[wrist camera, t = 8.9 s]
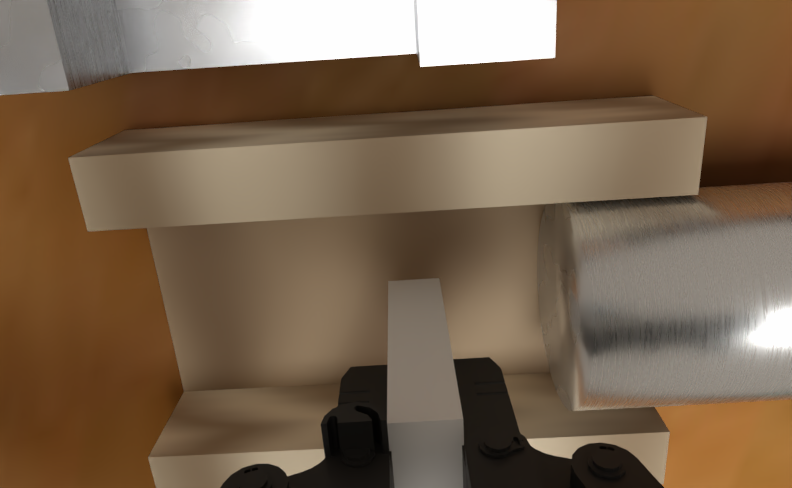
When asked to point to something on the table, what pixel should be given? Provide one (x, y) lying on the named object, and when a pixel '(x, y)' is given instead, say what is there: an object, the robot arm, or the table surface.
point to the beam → (368, 257)
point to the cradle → (254, 35)
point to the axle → (669, 298)
